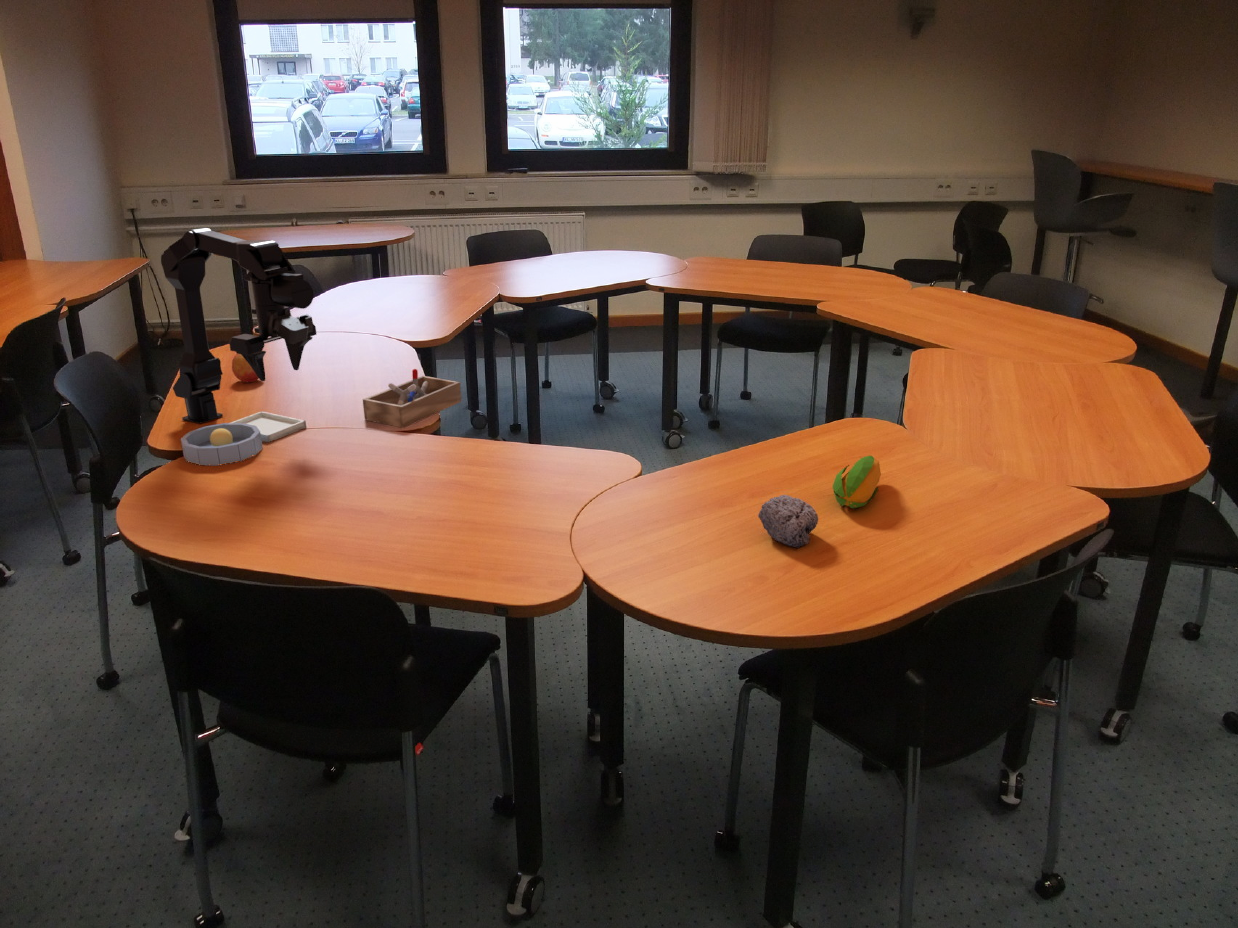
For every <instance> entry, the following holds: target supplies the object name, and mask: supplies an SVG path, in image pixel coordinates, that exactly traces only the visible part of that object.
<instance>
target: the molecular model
mask: <svg viewBox="0 0 1238 928" xmlns="http://www.w3.org/2000/svg"><path fill="white" fill-rule="evenodd" d="M418 371H419V370H418V369H416V368H413V369H412V371H411V372H412V373H411V374H412V380H413V385H411V386H410V387H408V388H407V389H405V390H404V391H403V390H401V389H400V388H398V387H397V386H398V385H395V384H394V383H393V382H390V383H388V389H390V388H391V389H392V390H394V391H395V392H397V393H398V394H399V395H400V398H399V401H398V405H403V403H404V400H405V398H406V399H407V400H408V402H411V401H413V400H416V399H418V398H420V397H423V396H425V395H427V394H426V393H425V391H426V389H427V386H428V382H427V381H425V382H424V383H423V385H422V388H420V387H419V386H418V377H419V375H418ZM416 391H417V393H418V394H416V395H415V393H416ZM409 393H410V394H409ZM414 395H415V396H414Z"/></svg>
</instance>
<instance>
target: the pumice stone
mask: <svg viewBox="0 0 1238 928" xmlns="http://www.w3.org/2000/svg"><path fill="white" fill-rule="evenodd" d="M757 515H758V516H757V517H758V518H759V520H760V522H761V523H762V527H763V529H764V530H766V533H767V534H768V535H769V536H770V537H771V538H773V540H774V541H777V542H779V543H782V544H783V545H786V546H788V547H790V548H791V547H794V548H796V549H797V548H798V549H800V548H801V547H802V546H803V547H804V546H805V545H807V544H808V543H809V542H810V536H809V535H810V533H811V532H812V531H814V530H815V529H816V527H817V525H818V522H819V516H818V513H817V512H816V510H815V508H814V507H813V506H812V505H810V503H808V502H806V501H805V500H803V499H801V498H799V497H792V496H791V495H787V494H781V495H779V496H774V497H772V498H770V499H769V500H767V501H766V502H764V503H763V504H761V509H760V510H759V512H758V514H757Z"/></svg>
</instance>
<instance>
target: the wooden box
mask: <svg viewBox="0 0 1238 928" xmlns="http://www.w3.org/2000/svg"><path fill="white" fill-rule="evenodd" d="M425 381H427V382H428V386H427V389H426V391H425V393H426V394H427V395H425V396H423V397H420V398H418V399H416V400H413V401H411V402H408V400H407V399H406V398H405V400H404V403H403V405H398V401H399V398H400V395H399V394H398V393H397V392H395V391H394V390H392V389H391V388H388V389H385V390H383V391H380V392H377V393H375V394H373V395H370V396H368V397H366V398H363V399H362V404H363V405H362V406H363V415H364V420H365V421H369V422H375V423H378V424H382V425H387V426H394V427H398V428H402V429H405V428H406V427H408V426H411V425H413V424H415V423H417V422H420V421H422V420H424V419H425V418H426V419H427V418H428V417H431V416H433V415H435V414H437V413H439V412H441V411H443V410H446V409H449V408H451V407H452V406H455V405H457V404H459V403H462V393H461V392H462V391H461V382H460V381H455V380H449V379H443V378H438V377H432V376H428V375H427V376H426V375H421V376H418V386H419V387H420V388H422V385H423V383H424V382H425ZM411 385H413V379H411V380H408V381H406V382H404V383H401V384H398V385H396V386H397V387H398V388H400V389H401V390H403V391H404V390H405V389H407V388H408V387H410V386H411ZM409 394H410V393H409ZM416 394H418V393H417V391H416V393H415V395H416ZM415 395H414V396H415Z"/></svg>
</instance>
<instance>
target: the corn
mask: <svg viewBox="0 0 1238 928" xmlns="http://www.w3.org/2000/svg"><path fill="white" fill-rule="evenodd" d="M849 466H850V464H849V465H846V466H845V467H844V468H842V469H841V470H840V471H838V473H837V474H836V475H835V478H834V481H833V483H832V490H833V494H834V497H835V500H836V502H837V503H838V504H839V505H840V506H841V507H843V506H847V507H849V508H850V509H857V508H861V507H865V505H867V503H868V504H869V502H871V501H872V500H873V498H874V497H875V496H876V495H877V492H878V491H879V486H878V484H879V482H880V479H881V475H882V474H881V473H882V471H881V467H880V461H879V460H878V459H875V457H874V456H873V455H867V456H863V457H860V459H858V460H857V461H856V462H855V463H854V464H853V466H852V467H851V468H850V469H849V471H848V472H847V473H846V474H845V475H844V476H843V474H844V473H845V471H846V470H847V468H848V467H849ZM842 476H843V477H842Z"/></svg>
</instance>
